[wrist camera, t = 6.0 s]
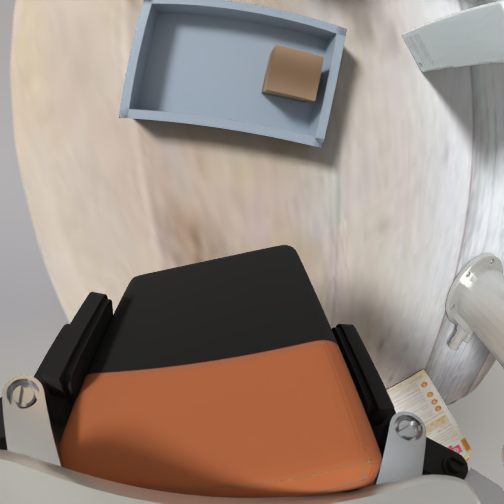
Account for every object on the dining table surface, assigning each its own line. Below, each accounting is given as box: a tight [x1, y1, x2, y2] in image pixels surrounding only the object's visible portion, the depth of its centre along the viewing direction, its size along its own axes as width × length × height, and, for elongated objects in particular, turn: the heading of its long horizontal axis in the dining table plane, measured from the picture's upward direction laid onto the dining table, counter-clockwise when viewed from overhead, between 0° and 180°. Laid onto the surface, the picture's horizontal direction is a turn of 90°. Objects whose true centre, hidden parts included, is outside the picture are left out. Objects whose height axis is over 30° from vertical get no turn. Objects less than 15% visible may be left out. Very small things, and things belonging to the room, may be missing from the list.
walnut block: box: [261, 45, 324, 103], centre depth 23 cm, size 4×4×4 cm
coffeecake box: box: [387, 369, 471, 462], centre depth 39 cm, size 15×7×20 cm, turn 118°
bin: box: [119, 0, 347, 148], centre depth 23 cm, size 12×18×4 cm, turn 79°
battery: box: [59, 245, 382, 498], centre depth 8 cm, size 4×7×10 cm, turn 101°
